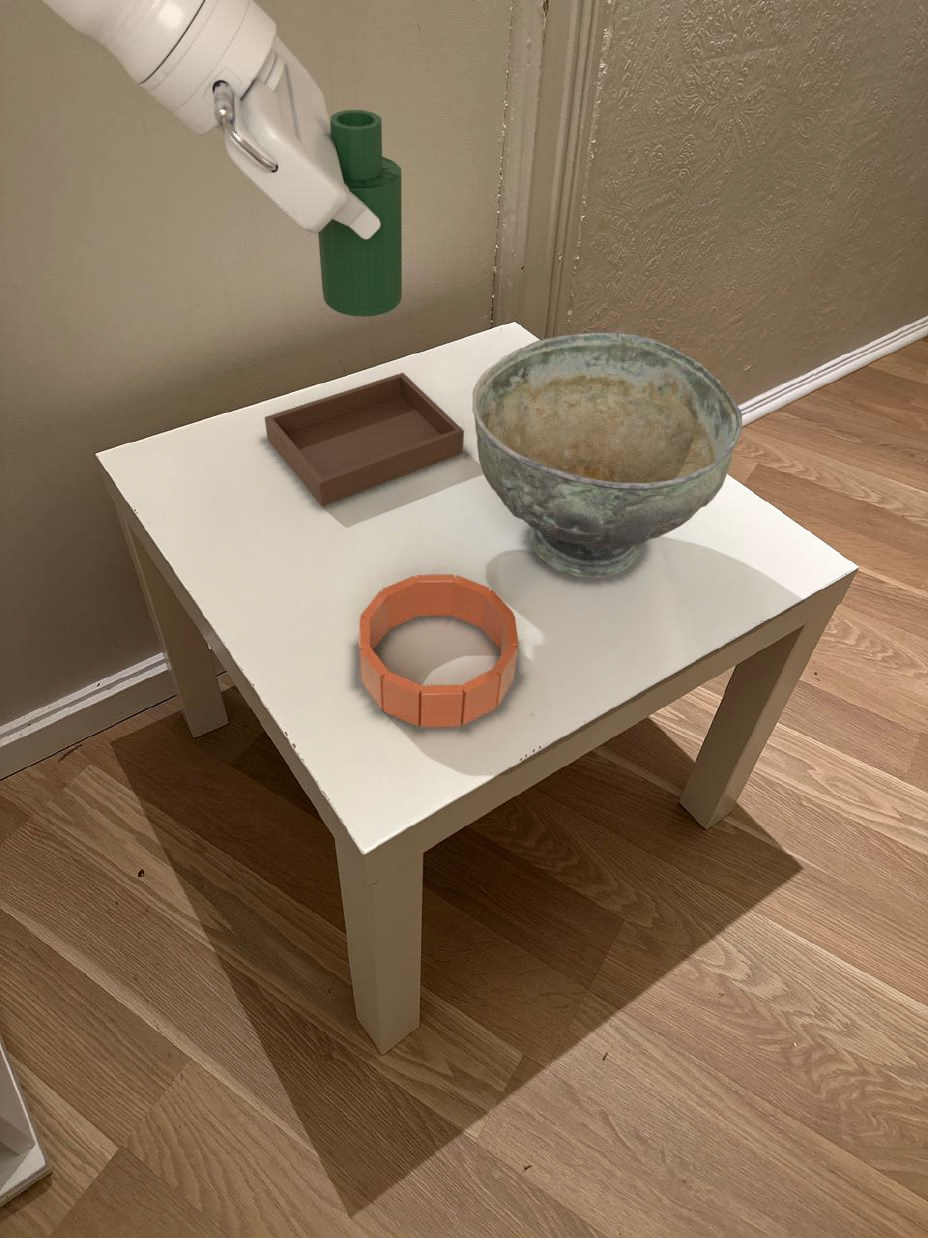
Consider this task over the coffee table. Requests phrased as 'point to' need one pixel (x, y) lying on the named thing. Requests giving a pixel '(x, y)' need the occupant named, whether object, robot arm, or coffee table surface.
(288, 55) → the robot arm
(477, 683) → the orange ring
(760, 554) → the coffee table surface
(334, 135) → the bottle
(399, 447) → the tray
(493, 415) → the bowl
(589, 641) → the coffee table surface
